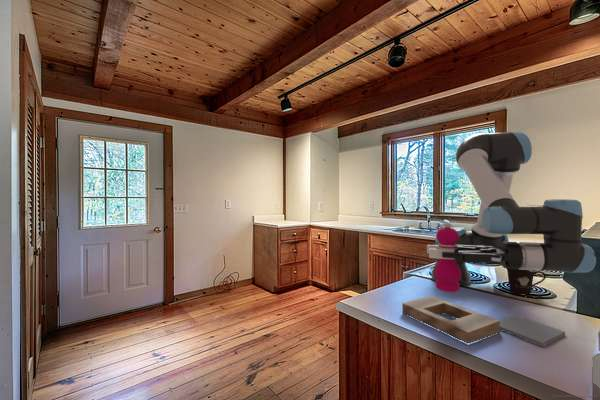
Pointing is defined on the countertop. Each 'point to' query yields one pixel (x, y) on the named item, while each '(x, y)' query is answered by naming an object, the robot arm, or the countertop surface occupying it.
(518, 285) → the coffee mug
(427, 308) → the frame
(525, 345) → the countertop surface
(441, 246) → the pepper mill
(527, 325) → the grey mat
